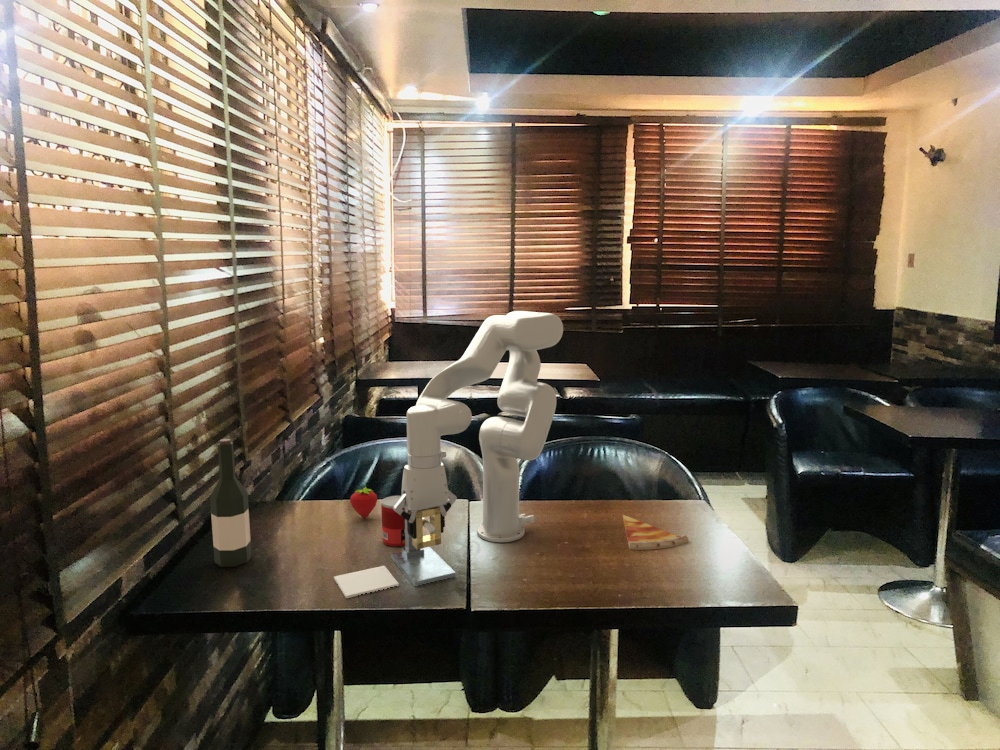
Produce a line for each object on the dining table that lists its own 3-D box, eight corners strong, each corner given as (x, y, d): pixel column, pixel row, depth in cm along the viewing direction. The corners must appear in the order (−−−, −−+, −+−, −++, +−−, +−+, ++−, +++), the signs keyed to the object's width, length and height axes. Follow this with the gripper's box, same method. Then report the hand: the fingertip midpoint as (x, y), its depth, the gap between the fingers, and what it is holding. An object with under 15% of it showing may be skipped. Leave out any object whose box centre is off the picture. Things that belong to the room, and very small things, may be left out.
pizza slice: (678, 520, 193) (679, 513, 192) (692, 554, 171) (693, 546, 171) (622, 517, 194) (622, 510, 194) (629, 551, 172) (629, 543, 172)
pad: (384, 567, 161) (384, 565, 161) (398, 586, 153) (398, 583, 153) (334, 578, 156) (333, 576, 156) (346, 598, 147) (346, 595, 147)
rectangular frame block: (436, 539, 162) (435, 503, 160) (441, 544, 159) (440, 507, 157) (412, 544, 159) (411, 508, 157) (417, 549, 156) (415, 512, 155)
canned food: (407, 548, 172) (406, 507, 170) (377, 545, 173) (376, 504, 171) (417, 536, 179) (416, 496, 177) (388, 533, 181) (387, 494, 179)
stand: (428, 550, 171) (428, 495, 168) (455, 577, 157) (455, 518, 154) (390, 558, 166) (389, 502, 164) (414, 586, 152) (413, 526, 150)
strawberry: (350, 514, 194) (349, 481, 192) (377, 512, 195) (376, 479, 193) (350, 522, 188) (349, 488, 186) (378, 520, 189) (377, 486, 187)
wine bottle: (206, 564, 163) (197, 442, 157) (231, 550, 170) (223, 433, 165) (235, 569, 160) (226, 446, 154) (258, 555, 168) (251, 437, 162)
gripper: (452, 449, 162) (453, 520, 166) (382, 461, 154) (385, 535, 158) (465, 458, 156) (466, 532, 159) (393, 470, 148) (396, 548, 151)
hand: (426, 533), depth 159 cm, fingers closed on rectangular frame block, 6 cm apart
